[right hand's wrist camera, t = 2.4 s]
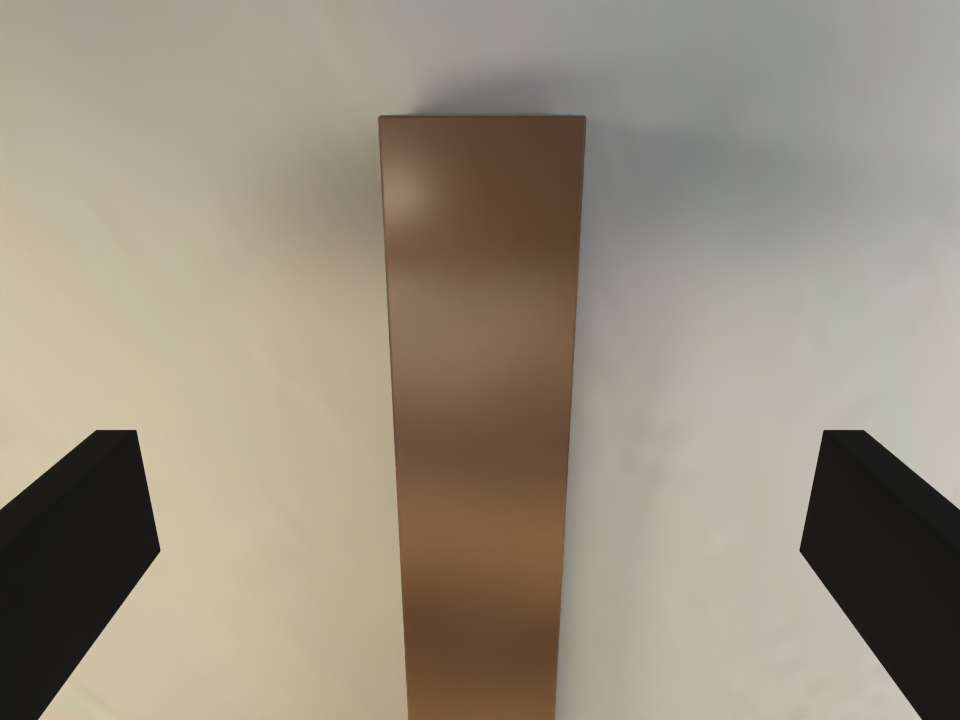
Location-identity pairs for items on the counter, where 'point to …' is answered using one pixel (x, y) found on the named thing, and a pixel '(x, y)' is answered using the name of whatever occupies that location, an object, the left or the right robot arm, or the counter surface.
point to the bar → (481, 399)
